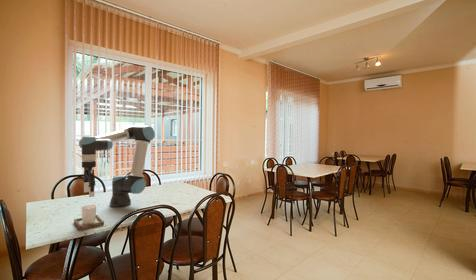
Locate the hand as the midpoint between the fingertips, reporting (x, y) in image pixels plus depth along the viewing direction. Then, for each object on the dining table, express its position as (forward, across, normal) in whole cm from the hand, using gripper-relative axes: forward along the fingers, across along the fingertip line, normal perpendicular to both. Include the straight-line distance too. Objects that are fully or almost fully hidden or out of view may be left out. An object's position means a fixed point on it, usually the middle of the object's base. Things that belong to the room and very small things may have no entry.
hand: (89, 194), depth 151 cm
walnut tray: (+19, 0, 0) cm, 19 cm away
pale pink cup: (+18, 0, 0) cm, 18 cm away
